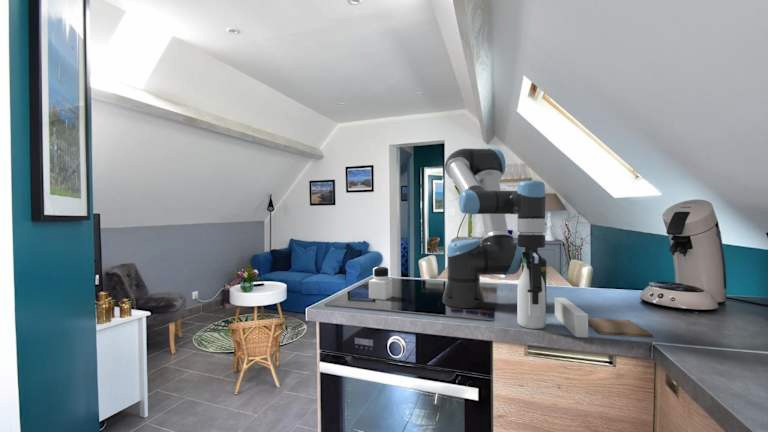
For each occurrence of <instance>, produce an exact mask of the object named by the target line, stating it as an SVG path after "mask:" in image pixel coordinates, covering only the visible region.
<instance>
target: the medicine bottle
mask: <svg viewBox="0 0 768 432" xmlns="http://www.w3.org/2000/svg"><path fill="white" fill-rule="evenodd" d="M392 297H393V279H392V278H389V268H388V267H386V266H376V267H374V268H372V279H369V281H368V298H369V299H372V300H381V301H386V300H388V299H390V298H392Z"/></svg>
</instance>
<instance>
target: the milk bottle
mask: <svg viewBox="0 0 768 432" xmlns="http://www.w3.org/2000/svg"><path fill="white" fill-rule="evenodd" d="M522 258H523V257H522ZM528 259H529V258H528ZM523 265H524V269H523V272H522V271H521V275H520V277H519V279H518V282H517V290H516V292H517V295H516V296H517V298H516V299H517V300H516V301H517V304H516V305H517V308H516V309H517V311H516V312H517V313H516V314H517V315H516V317H517V320H516V321H517V325H518V326H520V327H523V328H526V329H532V330H533V329H534V330H536V329H537V330H541V329H544V328H545V327H546V325H547V324H546V323H547V321H546V320H547V304H546V303H547V289H546V290H545V283H544V280H543V278H542V276H541V278H542V292H540V316H534V315H529V292H528V290H530V281H529V270H528V269H527V267H526V260H525V257H524V258H523Z"/></svg>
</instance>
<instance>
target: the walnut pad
mask: <svg viewBox="0 0 768 432" xmlns="http://www.w3.org/2000/svg"><path fill="white" fill-rule="evenodd" d="M588 327H590V328H591V329H592V330H593V331H595V332H596V333H597V334H598V335H604V336H605V335H609V336H619V337H620V336H624V337H627V336H628V337H638V338H639V337H640V338H655V337H654V336H655V335H654V334H653V333H652V332H650V331H648V330H647V329H645V328H643V327H642V326H640V325H638V324H637V323H635V322H633V321H631V320H630V319H616V318H615V319H613V318H592V317H588Z"/></svg>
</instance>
